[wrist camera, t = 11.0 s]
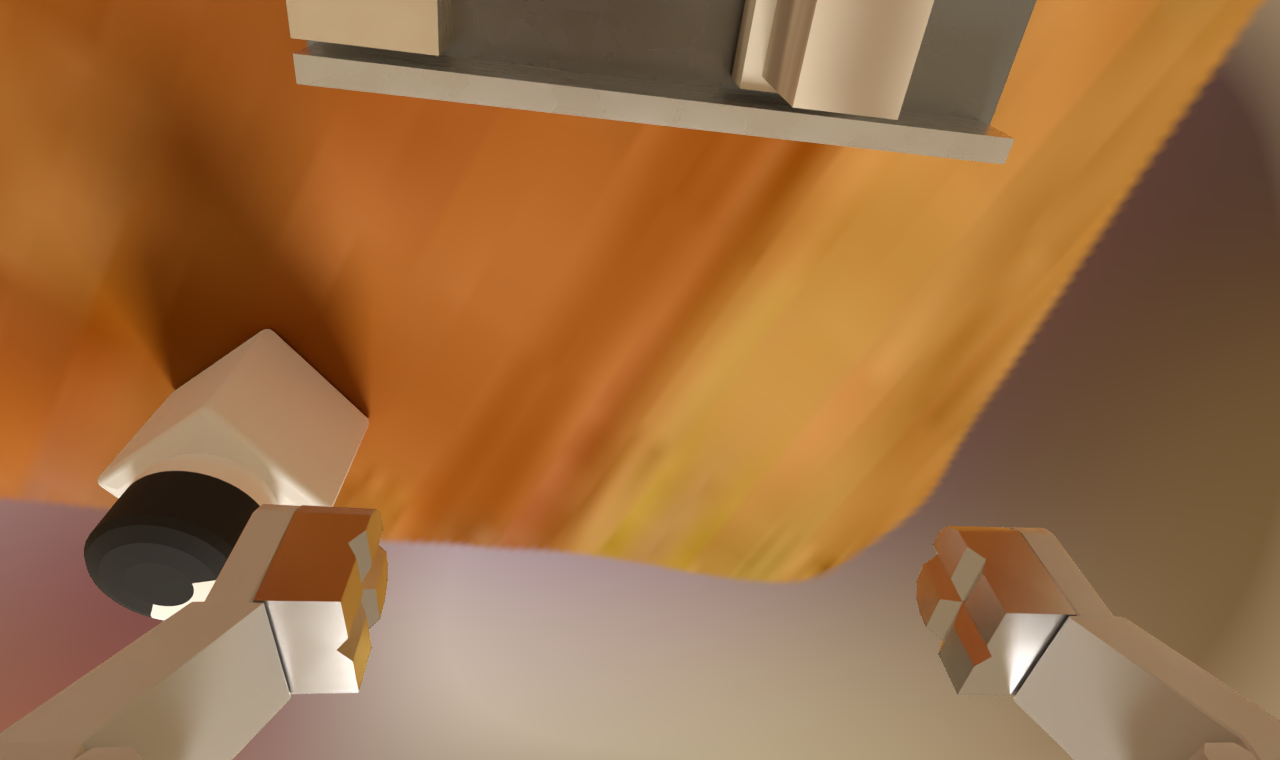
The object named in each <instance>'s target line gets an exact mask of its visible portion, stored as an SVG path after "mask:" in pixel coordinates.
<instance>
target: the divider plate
mask: <svg viewBox="0 0 1280 760" xmlns="http://www.w3.org/2000/svg"><path fill="white" fill-rule="evenodd" d="M1035 3H1036V0H934V3H933V6H932V9H931V13H930V16H929V19H928V23H927V26H926V29H925V32H924V36H923V39H922V42H921V45H920V49H919V52H918V55H917V58H916V62H915V65H914V68H913V71H912V75H911V78H910V81H909V84H908V88H907V91H906V94H905V97H904V101H903V104H902V107H901V110H900V114H899V117H898V120H894V119H885V118H877V117H869V116H860V115H852V114H843V113H835V112H827V111H818V110H810V109H801V108H793V107H792V106H791V105H790V104H789V103H788V102H787V101H786V100H785V99H784V98H783V97H782V96H781V95H780V94H779V93H773V92H764V91H756V90H748V89H740V88H739V87H738V86H737V84H736V83H735V82H734V81H733V80H732V72H733V67H734V61H735V55H736V50H737V44H738V39H739V33H740V28H741V22H742V16H743V11H744V5H745V0H286V5H287V12H288V20H289V28H290V35H291V38H295V39H304V40H307V44H308V47H306V48H304V49H302V50H299V51H297V52H295V53H293V58H294V66H295V74H296V82H297V84H302V85H311V86H320V87H329V88H338V89H346V90H355V91H364V92H373V93H382V94H390V95H399V96H408V97H417V98H425V99H434V100H443V101H452V102H461V103H469V104H478V105H487V106H496V107H505V108H513V109H522V110H531V111H540V112H548V113H557V114H566V115H575V116H584V117H592V118H601V119H610V120H619V121H628V122H636V123H645V124H654V125H663V126H671V127H680V128H689V129H698V130H707V131H715V132H724V133H733V134H742V135H751V136H759V137H768V138H777V139H786V140H794V141H803V142H812V143H821V144H830V145H838V146H847V147H856V148H865V149H873V150H882V151H891V152H900V153H909V154H917V155H926V156H935V157H944V158H953V159H961V160H970V161H979V162H988V163H996V164H1005V161H1006V159H1007V156H1008V154H1009V151H1010V149H1011V146H1012V144H1013V141H1014V138H1012V137H1010V136H1008V135H1006V134H1005V133H1003V132H1001V131H999V130H997V129H995V128H993V127H992V126H990V123H991V120H992V117H993V115H994V112H995V109H996V107H997V104H998V101H999V99H1000V96H1001V93H1002V91H1003V88H1004V85H1005V83H1006V80H1007V77H1008V75H1009V72H1010V69H1011V67H1012V64H1013V62H1014V59H1015V56H1016V54H1017V51H1018V48H1019V46H1020V43H1021V40H1022V38H1023V35H1024V32H1025V30H1026V27H1027V24H1028V22H1029V19H1030V16H1031V14H1032V11H1033V8H1034V6H1035Z"/></svg>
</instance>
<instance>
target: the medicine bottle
mask: <svg viewBox="0 0 1280 760" xmlns="http://www.w3.org/2000/svg"><path fill="white" fill-rule="evenodd" d="M368 425H369V420H368V418H367V417H366V416H365V415H364V414H363V413H362V412H361V411H359V410H358V409H357V408H356V407H355V406H354V405H353V404H352V403H351V402H350V401H349V400H348V399H346V398H345V397H344V396H343V395H342V394H341V393H340V392H339V391H338V390H337V389H336V388H335V387H333V386H332V385H331V384H330V383H329V382H328V381H327V380H326V379H325V378H324V377H323V376H321V375H320V374H319V373H318V372H317V371H316V370H315V369H314V368H313V367H312V366H311V365H310V364H308V363H307V362H306V361H305V360H304V359H303V358H302V357H301V356H300V355H299V354H298V353H297V352H295V351H294V350H293V349H292V348H291V347H290V346H289V345H288V344H287V343H286V342H285V341H284V340H282V339H281V338H280V337H279V336H278V335H277V334H276V333H275V332H274V331H272V330H271V329H264V330H262V331H260V332H259V333H257V334H256V335H254V336H253V337H252V338H250V339H249V340H247V341H246V342H244V343H243V344H241V345H240V346H239V347H237V348H236V349H234V350H233V351H231V352H230V353H228V354H227V355H226V356H224V357H223V358H221V359H220V360H218V361H217V362H215V363H214V364H213V365H211V366H210V367H208V368H207V369H205V370H204V371H202V372H201V373H200V374H198V375H197V376H195V377H194V378H192V379H191V380H189V381H188V382H187V383H185V384H184V385H182V386H181V387H179V388H178V389H176V390H175V391H174V392H172V393H171V395H170V396H169V397H168V398H167V399H166V400H165V401H164V403H163V404H162V405H161V406H160V407H159V408H158V409H157V411H156V412H155V413H154V414H153V415H152V416H151V417H150V419H149V420H148V421H147V422H146V423H145V424H144V425H143V427H142V428H141V429H140V430H139V431H138V432H137V433H136V435H135V436H134V437H133V438H132V439H131V440H130V441H129V443H128V444H127V445H126V446H125V447H124V448H123V449H122V451H121V452H120V453H119V454H118V455H117V456H116V457H115V459H114V460H113V461H112V462H111V463H110V464H109V465H108V467H107V468H106V469H105V470H104V471H103V472H102V473H101V474H100V476H99V478H98V484H99V485H100V486H101V487H102V488H104V489H105V490H107V491H108V492H110V493H111V494H113V495H114V496H116V497H117V498H119V499H118V500H117V502H116V503H115V504H114V505H113V506H112V508H111V509H110V510H109V511H108V513H107V514H106V515H105V516H104V518H103V519H102V520H101V521H100V523H99V524H98V525H97V526H96V527H95V529H94V530H93V531H92V532H91V534H90V535H89V537H88V539H87V540H86V544H85V547H84V558H85V563H86V566H87V569H88V572H89V574H90V576H91V578H92V580H93V581H94V583H95V584H96V585H97V586H98V588H99V589H100V590H101V591H102V592H103V593H105V594H106V595H107V596H108V597H110V598H111V599H112V600H114V601H115V602H117V603H119V604H120V605H122V606H123V607H125V608H128V609H129V610H131V611H134V612H137V613H139V614H141V615H145V616H148V617H151V618H156V619H160V620H166V619H167V618H169V617H170V616H172V615H173V614H175V613H176V612H178V611H179V610H180V609H182V608H183V607H185V606H186V605H188V604H189V603H191V602H204V601H205V600H206V598H207V596H208V594H209V592H210V590H211V589H212V587H213V585H214V583H215V581H216V579H217V578H218V576H219V574H220V572H221V570H222V568H223V567H224V565H225V563H226V561H227V559H228V557H229V556H230V554H231V552H232V550H233V548H234V546H235V545H236V543H237V541H238V539H239V537H240V535H241V534H242V532H243V530H244V528H245V526H246V524H247V523H248V521H249V519H250V517H251V515H252V513H253V512H254V511H255V510H256V509H257V508H259V507H260V506H261V505H262V504H276V505H294V506H302V505H308V506H326V507H333V505H334V503H335V501H336V498H337V496H338V494H339V491H340V489H341V487H342V485H343V482H344V480H345V478H346V475H347V473H348V471H349V469H350V466H351V464H352V462H353V460H354V457H355V455H356V453H357V450H358V448H359V446H360V444H361V441H362V439H363V437H364V435H365V432H366V430H367V428H368Z"/></svg>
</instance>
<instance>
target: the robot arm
mask: <svg viewBox="0 0 1280 760" xmlns="http://www.w3.org/2000/svg"><path fill="white" fill-rule="evenodd" d="M382 531H383V525H382V519H381V513H380V511H378V510H376V509H363V508H345V507H326V506H308V505H302V506H294V505H276V504H262V505H261V506H260V507H259V508H257V509H256V510H255V511H254V512H253V513H252V515H251V517H250V519H249V521H248V523H247V524H246V526H245V528H244V530H243V532H242V534H241V535H240V537H239V539H238V541H237V543H236V545H235V546H234V548H233V550H232V552H231V554H230V556H229V557H228V559H227V561H226V563H225V565H224V567H223V568H222V570H221V572H220V574H219V576H218V578H217V579H216V581H215V583H214V585H213V587H212V589H211V590H210V592H209V594H208V596H207V598H206V600H205V601H204V602H191V603H189V604H188V605H186V606H185V607H183V608H182V609H180V610H179V611H178V612H176V613H175V614H173V615H172V616H170V617H169V618H167V619H166V620H164V621H163V622H162V623H160V624H159V625H157V626H156V627H154V628H153V629H151V630H150V631H149V632H147V633H146V634H144V635H143V636H141V637H140V638H138V639H137V640H135V641H134V642H132V643H131V644H129V645H128V646H127V647H125V648H124V649H122V650H121V651H119V652H118V653H116V654H115V655H114V656H112V657H111V658H109V659H108V660H106V661H105V662H103V663H102V664H100V665H99V666H98V667H96V668H95V669H93V670H92V671H90V672H89V673H87V674H86V675H84V676H83V677H81V678H80V679H78V680H77V681H76V682H74V683H73V684H71V685H70V686H68V687H67V688H65V689H64V690H63V691H61V692H60V693H58V694H57V695H55V696H54V697H52V698H51V699H49V700H48V701H47V702H45V703H43V704H42V705H41V706H39V707H38V708H36V709H35V710H33V711H32V712H30V713H29V714H27V715H26V716H25V717H23V718H22V719H20V720H19V721H17V722H16V723H14V724H13V725H12V726H10V727H9V728H7V729H6V730H4V731H3V732H1V733H0V760H232V759H233V758H234V757H235V756H236V755H237V754H238V753H239V752H240V751H241V750H242V749H243V747H245V745H246V744H247V743H248V742H249V741H250V740H251V739H252V738H253V737H254V736H255V735H256V734H257V733H258V732H259V731H260V730H261V729H262V728H263V727H264V726H265V725H266V724H267V722H269V720H270V719H271V718H272V717H273V716H274V715H275V714H276V713H277V712H278V711H279V710H280V709H281V708H282V707H283V706H284V705H285V704H286V703H287V702H288V701H289V700H290V699H291V696H290V694H314V693H315V694H316V693H357V692H359V690H360V686H361V683H362V679H363V676H364V673H365V669H366V666H367V662H368V659H369V655H370V652H371V648H372V647H371V640H370V634H369V629H370V628H371V627H372V626H373V625H374V624H375V623H376V622H378V621H379V620H380V617H381V613H382V609H383V606H384V602H385V596H386V589H387V582H388V562H387V553H386V551H385V550H384V549H383V548H382V547H380V546H379V545H378V544H379V541H380V538H381V535H382ZM933 545H934V548H935V550H936V552H937V554H938V555H937V556H935V557H934V558H932V559H931V560H929V561H928V562H927V563H925V564H924V565H923V566H922V569H921V572H920V574H919V577H918V579H917V590H916V599H917V604H918V608H919V613H920V615H921V617H922V619H923V622H924V624H925V626H926V628H927V629H928V630H930V631H931V632H932V633H933V634H935V635H936V636H937V637H938V638H939V639H941V640H942V642H941V646H940V649H939V653H938V655H939V657H940V659H941V661H942V663H943V665H944V667H945V669H946V672H947V674H948V676H949V678H950V680H951V682H952V684H953V686H954V689H955V691H956V693H957V694H958V695H978V696H1008V697H1010V696H1011V697H1014V699H1013V700H1014V701H1015V702H1016V703H1017V704H1018V705H1019V706H1020V707H1021V708H1022V709H1023V710H1024V711H1025V712H1026V713H1027V714H1028V715H1029V716H1030V717H1031V718H1032V719H1033V720H1034V721H1035V722H1036V723H1037V724H1038V725H1039V726H1040V727H1042V728H1043V730H1045V731H1046V732H1047V733H1048V734H1049V735H1050V736H1051V737H1052V738H1053V739H1054V740H1055V741H1056V742H1057V743H1058V744H1059V745H1060V746H1061V747H1062V748H1063V749H1064V750H1065V751H1066V752H1067V753H1068V754H1069V755H1070V756H1071V757H1072V758H1073V759H1074V760H1280V720H1279V719H1277V718H1276V717H1274V716H1273V715H1271V714H1270V713H1268V712H1267V711H1265V710H1264V709H1262V708H1261V707H1259V706H1257V705H1256V704H1255V703H1253V702H1252V701H1250V700H1248V699H1247V698H1246V697H1244V696H1243V695H1241V694H1239V693H1238V692H1236V691H1235V690H1233V689H1232V688H1230V687H1229V686H1227V685H1226V684H1224V683H1223V682H1221V681H1220V680H1218V679H1217V678H1215V677H1214V676H1212V675H1210V674H1209V673H1208V672H1206V671H1204V670H1203V669H1202V668H1200V667H1198V666H1197V665H1196V664H1194V663H1193V662H1191V661H1190V660H1188V659H1187V658H1185V657H1184V656H1182V655H1181V654H1179V653H1177V652H1176V651H1174V650H1173V649H1171V648H1170V647H1168V646H1167V645H1165V644H1164V643H1162V642H1161V641H1159V640H1158V639H1156V638H1155V637H1153V636H1152V635H1150V634H1149V633H1147V632H1146V631H1144V630H1143V629H1141V628H1140V627H1138V626H1136V625H1135V624H1134V623H1132V622H1130V621H1129V620H1128V619H1126V618H1124V617H1114V616H1113V615H1112V613H1111V612H1110V611H1109V609H1108V608H1107V607H1106V605H1105V604H1104V603H1103V601H1102V600H1101V598H1100V597H1099V596H1098V594H1097V593H1096V592H1095V590H1094V589H1093V588H1092V586H1091V585H1090V583H1089V582H1088V581H1087V579H1086V578H1085V577H1084V575H1083V574H1082V573H1081V571H1080V570H1079V568H1078V567H1077V566H1076V564H1075V563H1074V562H1073V560H1072V559H1071V558H1070V556H1069V555H1068V553H1067V552H1066V551H1065V549H1064V548H1063V547H1062V546H1061V544H1060V543H1059V541H1058V540H1057V538H1056V537H1055V536H1054V535H1053V534H1052V533H1051V532H1049V531H1048V530H1046V529H1045V528H1006V527H963V526H962V527H961V526H960V527H959V526H946V527H945V528H944V529H943V530H941V531H940V532H939V533H938V535H937V537H936V539H935V541H934V543H933Z"/></svg>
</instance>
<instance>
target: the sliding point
mask: <svg viewBox="0 0 1280 760" xmlns="http://www.w3.org/2000/svg"><path fill="white" fill-rule="evenodd" d="M933 3H934V0H745V5H744V11H743V16H742V22H741V28H740V33H739V39H738V44H737V50H736V55H735V61H734V67H733V72H732V80H733V81H734V82H735V83H736V84H737V86H738V87H739V88H740V89H748V90H756V91H764V92H773V93H779V94H780V95H781V96H782V97H783V98H784V99H785V100H786V101H787V102H788V103H789V104H790V105H791V106H792V107H793V108H801V109H810V110H818V111H827V112H835V113H843V114H852V115H860V116H869V117H877V118H885V119H894V120H898V117H899V114H900V110H901V107H902V104H903V101H904V97H905V94H906V91H907V88H908V84H909V81H910V78H911V75H912V71H913V68H914V65H915V62H916V58H917V55H918V52H919V49H920V45H921V42H922V39H923V36H924V32H925V29H926V26H927V23H928V19H929V16H930V13H931V9H932V6H933Z"/></svg>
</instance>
